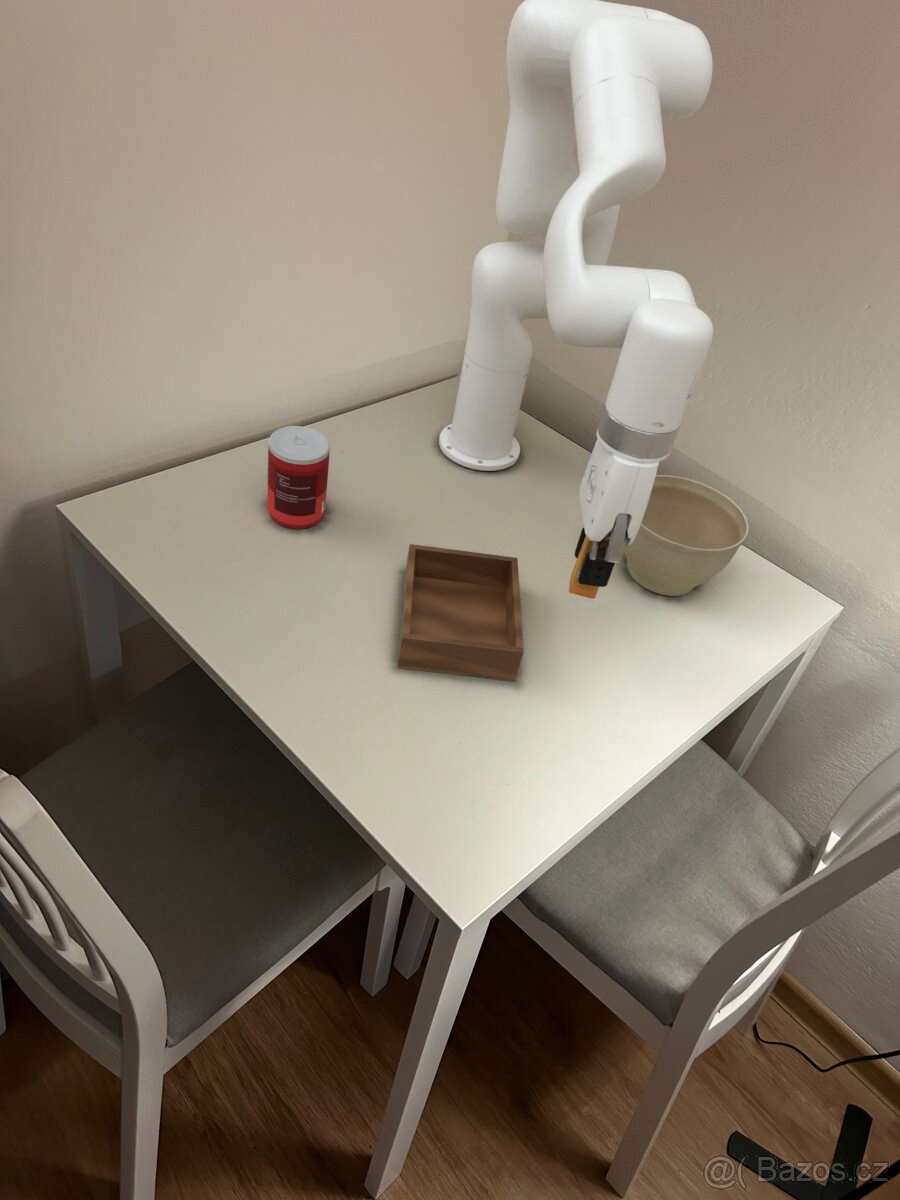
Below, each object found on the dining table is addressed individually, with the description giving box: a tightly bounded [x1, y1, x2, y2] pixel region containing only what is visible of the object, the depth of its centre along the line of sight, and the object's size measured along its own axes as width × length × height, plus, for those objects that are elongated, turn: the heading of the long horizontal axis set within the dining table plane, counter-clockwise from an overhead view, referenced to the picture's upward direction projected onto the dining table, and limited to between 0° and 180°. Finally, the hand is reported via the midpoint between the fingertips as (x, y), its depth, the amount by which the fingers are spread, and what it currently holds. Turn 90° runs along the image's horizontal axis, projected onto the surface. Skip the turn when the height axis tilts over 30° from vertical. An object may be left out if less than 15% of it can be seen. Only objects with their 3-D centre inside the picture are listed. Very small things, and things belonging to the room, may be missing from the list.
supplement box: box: [568, 531, 611, 600], centre depth 98 cm, size 3×3×10 cm
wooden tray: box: [396, 543, 524, 682], centre depth 107 cm, size 17×14×5 cm
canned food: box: [266, 425, 331, 530], centre depth 116 cm, size 8×8×11 cm
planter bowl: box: [623, 474, 750, 597], centre depth 119 cm, size 16×16×11 cm
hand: (590, 569), depth 100 cm, fingers closed on supplement box, 3 cm apart
